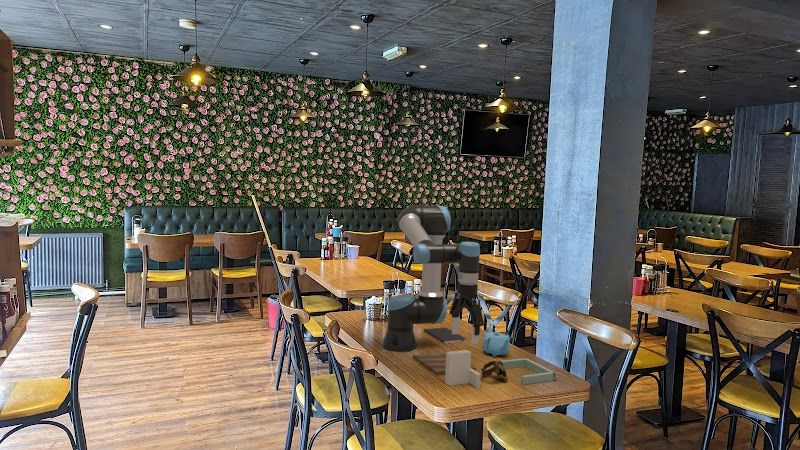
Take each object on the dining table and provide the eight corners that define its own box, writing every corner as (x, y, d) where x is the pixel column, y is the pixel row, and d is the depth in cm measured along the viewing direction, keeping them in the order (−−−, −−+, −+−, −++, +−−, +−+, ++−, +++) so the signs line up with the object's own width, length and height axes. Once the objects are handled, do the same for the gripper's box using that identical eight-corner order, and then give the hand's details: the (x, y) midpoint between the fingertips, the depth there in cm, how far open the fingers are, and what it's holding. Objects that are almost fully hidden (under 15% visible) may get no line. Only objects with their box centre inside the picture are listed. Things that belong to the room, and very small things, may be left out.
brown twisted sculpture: (506, 387, 213) (496, 368, 212) (485, 392, 218) (475, 374, 217) (513, 370, 223) (504, 352, 222) (493, 375, 228) (484, 358, 227)
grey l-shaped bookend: (438, 378, 218) (440, 348, 217) (462, 375, 222) (463, 345, 221) (455, 390, 206) (457, 358, 205) (479, 387, 210) (481, 355, 209)
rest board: (412, 357, 241) (412, 355, 241) (449, 354, 249) (449, 351, 248) (436, 374, 221) (436, 372, 221) (475, 370, 229) (476, 367, 229)
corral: (495, 368, 232) (495, 361, 232) (525, 364, 238) (526, 358, 238) (523, 384, 215) (523, 377, 214) (555, 380, 221) (556, 372, 221)
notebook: (423, 332, 284) (443, 344, 265) (423, 329, 284) (443, 341, 265) (445, 330, 289) (467, 342, 270) (445, 327, 289) (467, 338, 270)
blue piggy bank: (472, 350, 256) (473, 328, 255) (496, 346, 263) (497, 325, 262) (497, 362, 241) (498, 339, 240) (522, 358, 247) (523, 335, 247)
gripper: (442, 277, 221) (439, 330, 223) (478, 290, 199) (475, 348, 200) (458, 277, 224) (455, 329, 226) (495, 289, 202) (492, 346, 204)
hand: (464, 338), depth 213 cm, fingers open, 13 cm apart
